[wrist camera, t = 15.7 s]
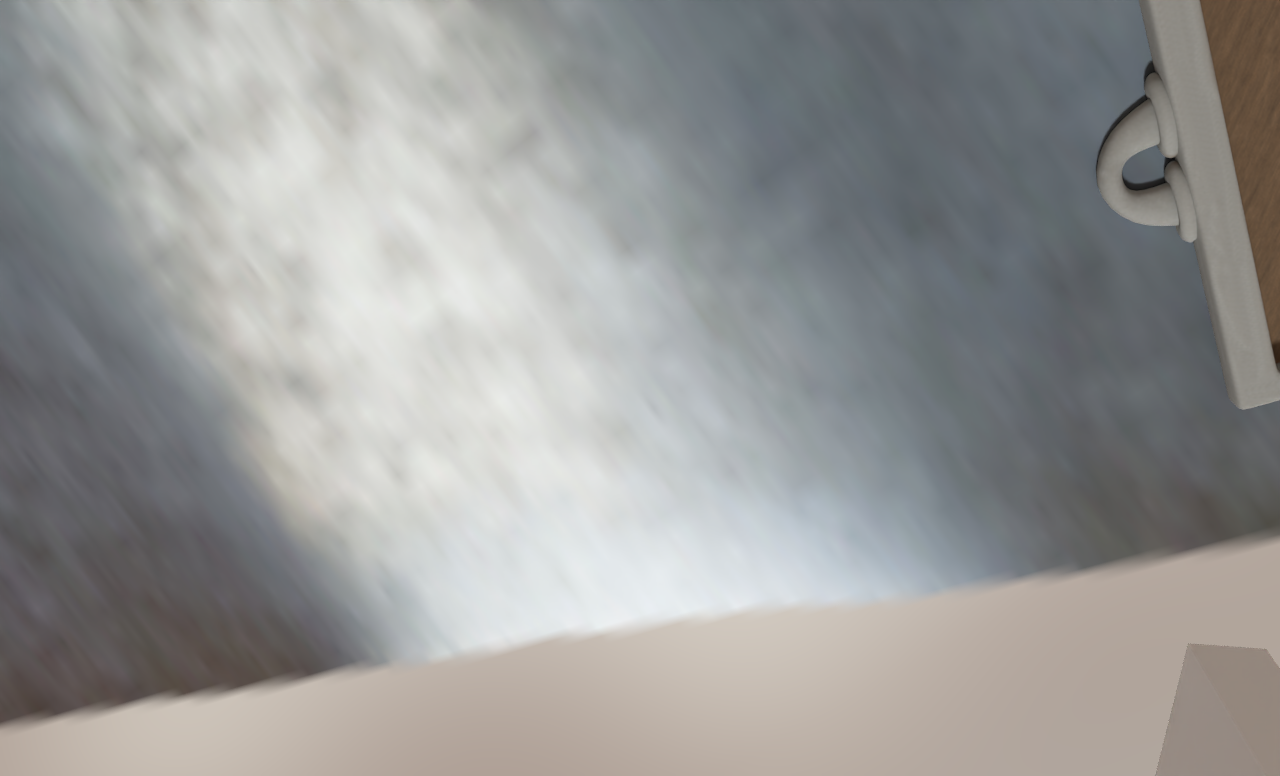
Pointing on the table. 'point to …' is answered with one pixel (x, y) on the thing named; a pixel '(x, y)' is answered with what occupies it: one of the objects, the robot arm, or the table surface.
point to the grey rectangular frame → (1215, 169)
